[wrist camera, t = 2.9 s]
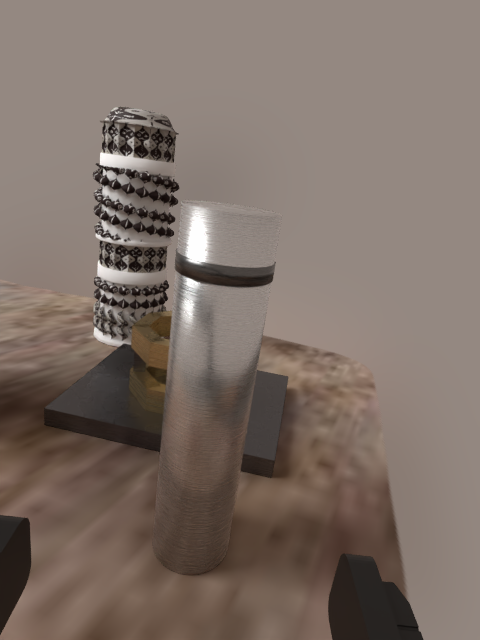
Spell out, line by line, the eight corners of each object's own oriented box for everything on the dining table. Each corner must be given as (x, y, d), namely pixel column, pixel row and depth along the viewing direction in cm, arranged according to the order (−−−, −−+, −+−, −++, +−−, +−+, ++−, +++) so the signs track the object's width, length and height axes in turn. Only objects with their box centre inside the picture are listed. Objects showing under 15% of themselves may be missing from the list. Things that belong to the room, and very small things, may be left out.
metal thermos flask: (139, 563, 23) (165, 202, 17) (167, 503, 27) (196, 198, 21) (219, 585, 22) (278, 219, 16) (235, 521, 26) (287, 212, 20)
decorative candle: (80, 345, 47) (82, 97, 39) (100, 317, 56) (106, 110, 47) (162, 353, 48) (181, 112, 40) (170, 324, 57) (187, 122, 48)
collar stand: (44, 424, 33) (42, 336, 30) (123, 355, 46) (126, 290, 44) (271, 477, 31) (289, 386, 28) (285, 389, 44) (298, 322, 41)
